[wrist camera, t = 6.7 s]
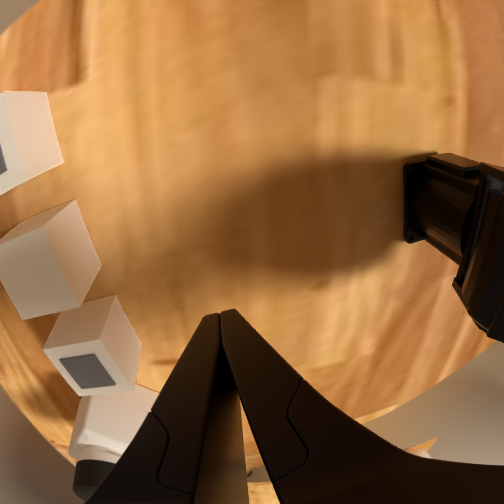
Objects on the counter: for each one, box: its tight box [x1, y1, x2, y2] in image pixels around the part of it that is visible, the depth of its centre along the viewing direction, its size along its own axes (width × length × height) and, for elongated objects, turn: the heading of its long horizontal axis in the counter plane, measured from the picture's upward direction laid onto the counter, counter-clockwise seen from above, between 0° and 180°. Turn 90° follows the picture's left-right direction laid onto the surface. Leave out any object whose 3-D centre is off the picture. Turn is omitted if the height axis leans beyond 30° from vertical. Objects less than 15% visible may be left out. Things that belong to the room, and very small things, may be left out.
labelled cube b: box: [0, 91, 64, 195], centre depth 12 cm, size 5×5×5 cm
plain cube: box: [0, 199, 102, 320], centre depth 16 cm, size 5×5×5 cm
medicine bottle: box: [68, 384, 159, 502], centre depth 20 cm, size 7×7×12 cm
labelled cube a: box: [42, 295, 142, 396], centre depth 19 cm, size 5×5×5 cm
